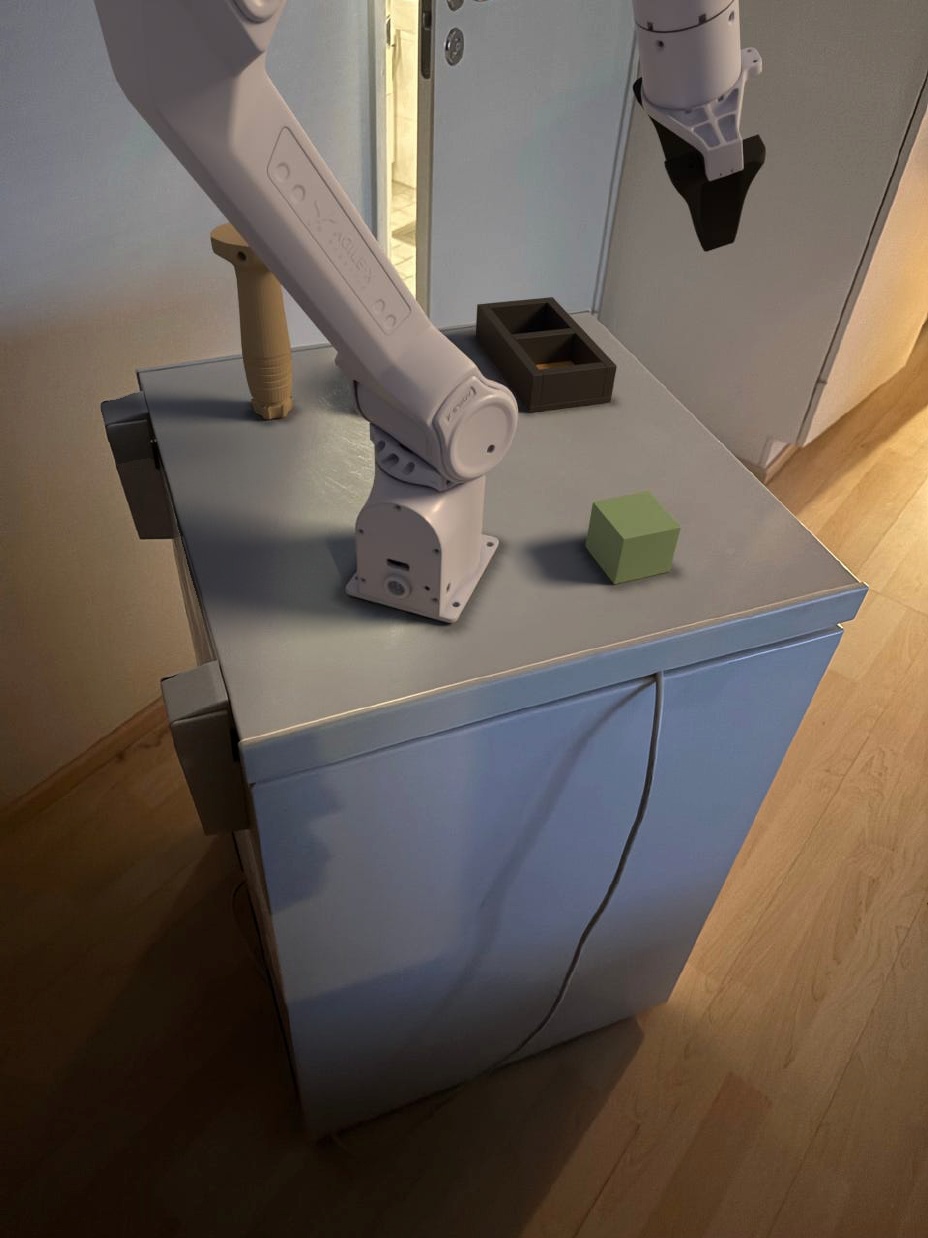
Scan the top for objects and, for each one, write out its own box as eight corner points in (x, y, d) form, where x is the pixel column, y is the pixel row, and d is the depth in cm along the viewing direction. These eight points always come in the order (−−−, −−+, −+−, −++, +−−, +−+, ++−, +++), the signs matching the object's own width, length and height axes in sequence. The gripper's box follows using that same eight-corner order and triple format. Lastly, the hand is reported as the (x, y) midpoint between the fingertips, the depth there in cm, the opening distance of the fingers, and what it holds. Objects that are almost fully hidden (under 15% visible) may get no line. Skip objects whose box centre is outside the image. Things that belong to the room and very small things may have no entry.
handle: (298, 431, 75) (281, 251, 65) (227, 419, 76) (199, 239, 66) (318, 404, 78) (305, 228, 68) (250, 393, 79) (227, 218, 69)
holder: (529, 412, 79) (532, 375, 77) (475, 338, 89) (477, 303, 87) (610, 402, 81) (617, 365, 79) (548, 331, 91) (552, 296, 89)
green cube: (669, 571, 63) (681, 526, 61) (614, 584, 62) (623, 539, 59) (638, 535, 66) (648, 490, 64) (584, 546, 65) (592, 501, 62)
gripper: (798, 38, 45) (795, 255, 57) (721, -83, 53) (732, 130, 64) (661, 89, 47) (685, 292, 58) (605, -36, 54) (636, 164, 66)
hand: (703, 209), depth 61 cm, fingers open, 7 cm apart
